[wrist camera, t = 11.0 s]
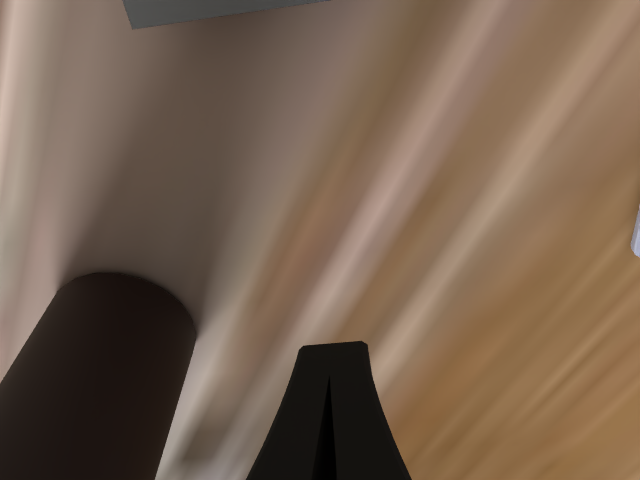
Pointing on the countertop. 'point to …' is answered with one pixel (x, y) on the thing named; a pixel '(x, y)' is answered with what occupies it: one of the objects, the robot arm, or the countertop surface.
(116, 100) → the countertop surface
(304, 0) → the switch panel
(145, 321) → the bottle
